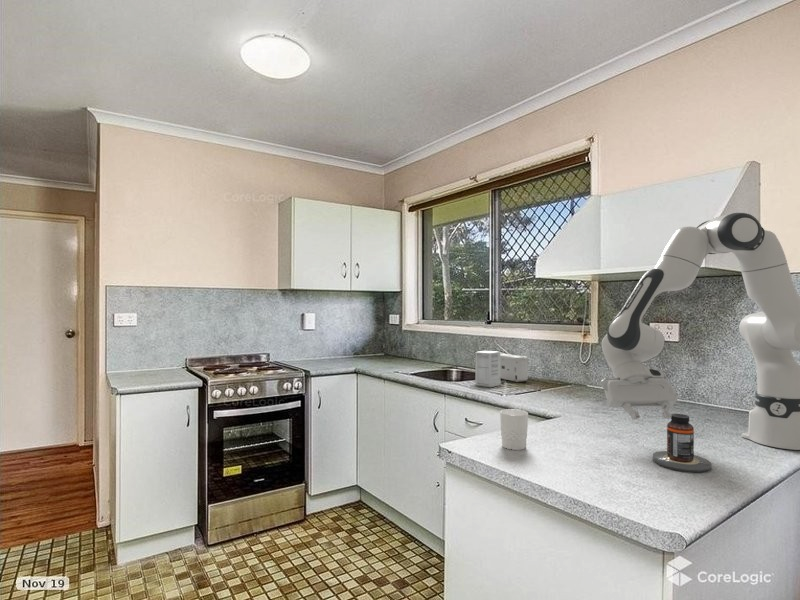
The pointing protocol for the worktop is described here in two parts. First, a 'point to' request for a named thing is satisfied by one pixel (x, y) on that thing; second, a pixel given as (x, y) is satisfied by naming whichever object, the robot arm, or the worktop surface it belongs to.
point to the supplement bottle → (680, 438)
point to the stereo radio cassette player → (513, 367)
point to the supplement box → (487, 368)
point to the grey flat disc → (682, 463)
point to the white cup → (514, 428)
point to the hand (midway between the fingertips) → (652, 418)
